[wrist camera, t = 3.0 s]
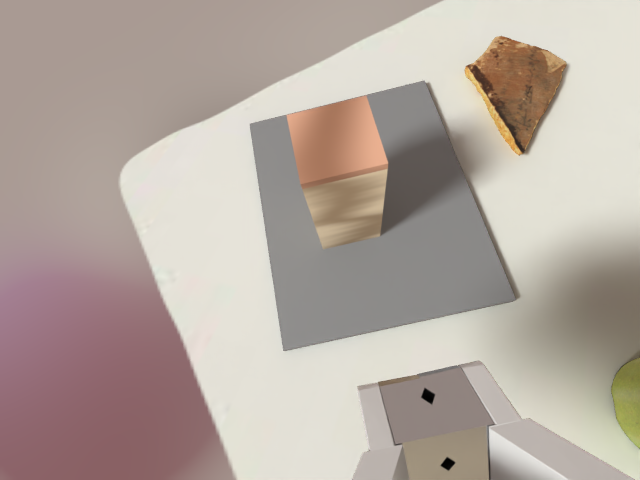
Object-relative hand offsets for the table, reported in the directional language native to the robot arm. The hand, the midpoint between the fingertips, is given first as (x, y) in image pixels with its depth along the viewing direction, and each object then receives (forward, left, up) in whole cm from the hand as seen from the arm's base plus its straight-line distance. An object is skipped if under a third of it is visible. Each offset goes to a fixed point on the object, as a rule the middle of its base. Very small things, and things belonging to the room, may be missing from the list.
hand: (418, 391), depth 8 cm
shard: (-18, -20, -17) cm, 32 cm away
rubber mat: (-2, -13, -16) cm, 21 cm away
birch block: (0, -12, -15) cm, 20 cm away
